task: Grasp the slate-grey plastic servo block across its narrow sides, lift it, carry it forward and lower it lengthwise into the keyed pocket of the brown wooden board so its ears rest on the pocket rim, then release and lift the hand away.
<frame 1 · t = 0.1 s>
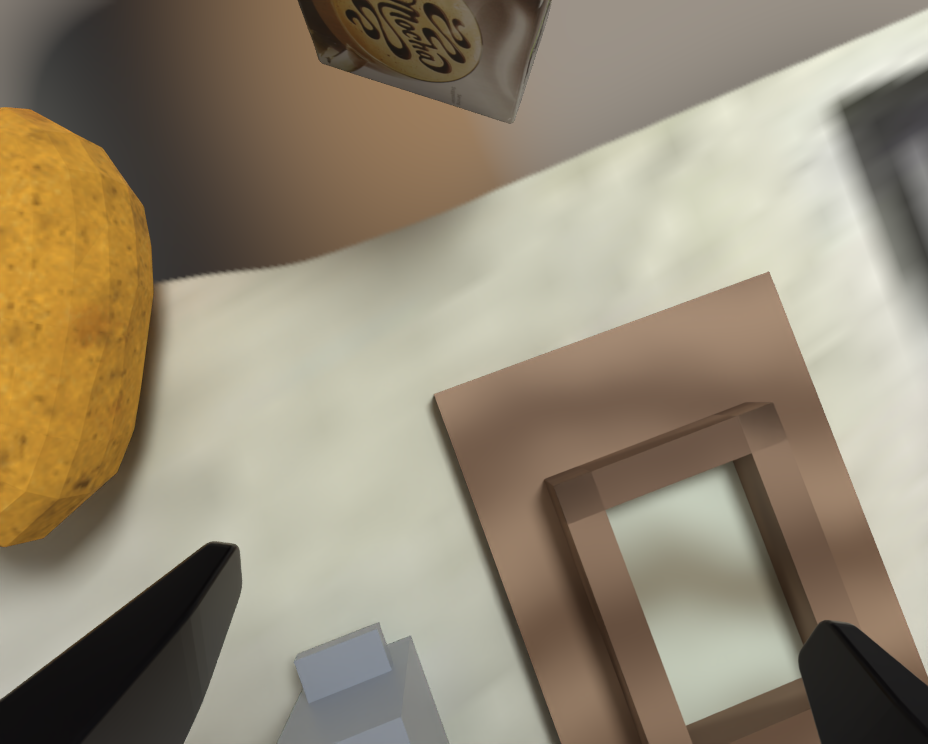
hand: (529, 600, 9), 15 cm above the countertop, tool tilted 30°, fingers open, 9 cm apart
brown wooden board: (689, 577, 23), on the countertop
coffee box: (434, 33, 24), on the countertop
potato: (95, 340, 23), on the countertop
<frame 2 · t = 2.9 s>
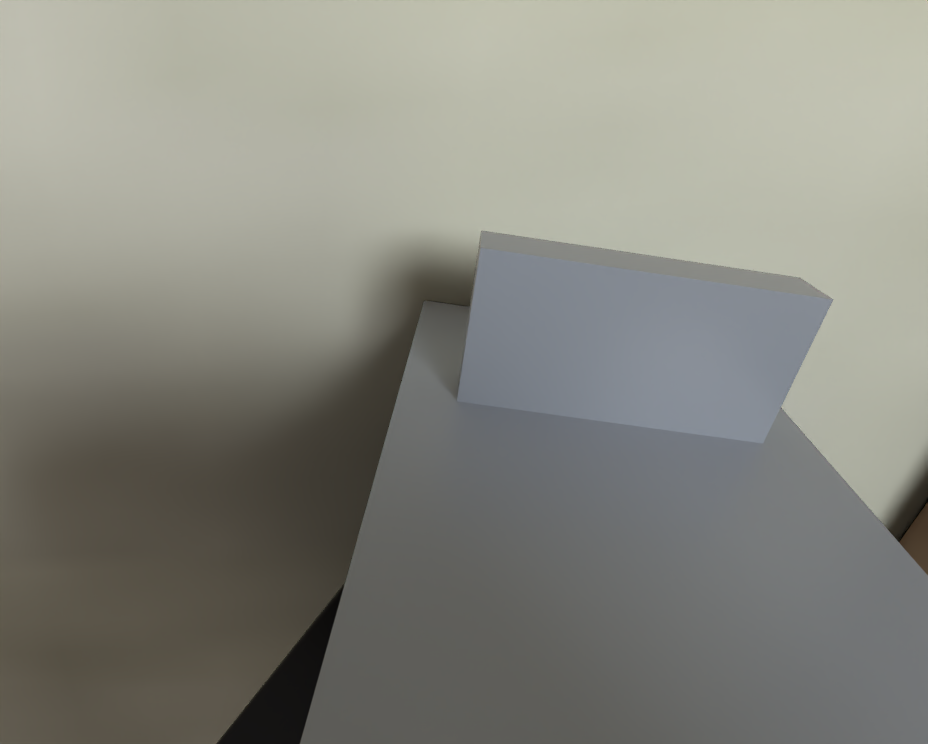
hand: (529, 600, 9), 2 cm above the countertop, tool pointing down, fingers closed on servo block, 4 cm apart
servo block: (523, 526, 10), on the countertop, touching gripper
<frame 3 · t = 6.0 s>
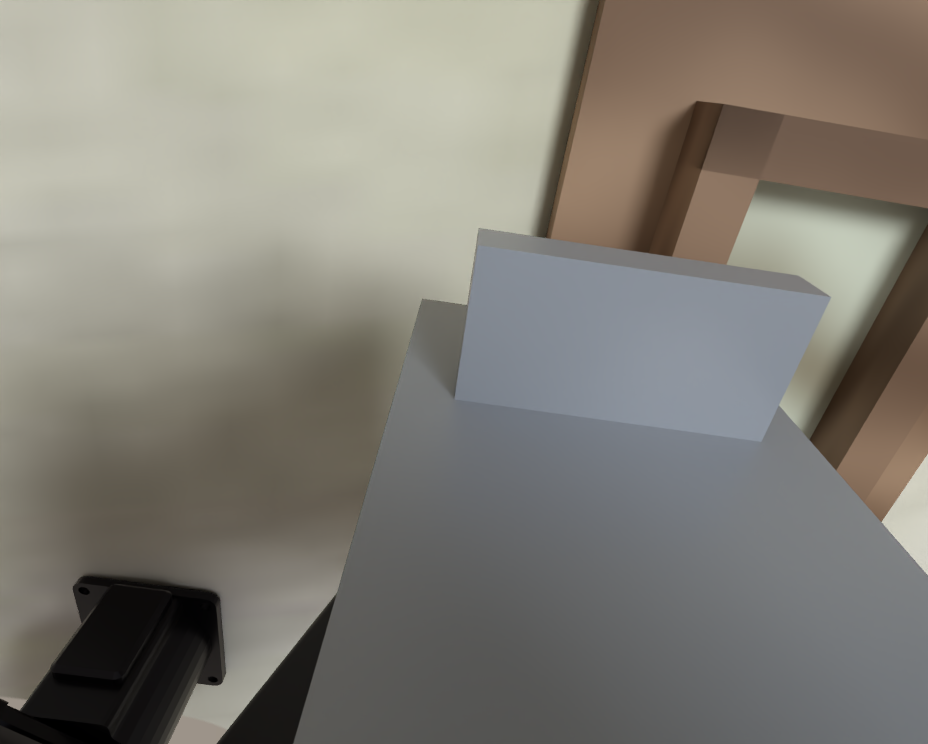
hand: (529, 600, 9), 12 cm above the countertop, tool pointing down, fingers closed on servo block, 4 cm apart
brown wooden board: (750, 324, 19), on the countertop
servo block: (522, 525, 10), point 10 cm above the countertop, touching gripper
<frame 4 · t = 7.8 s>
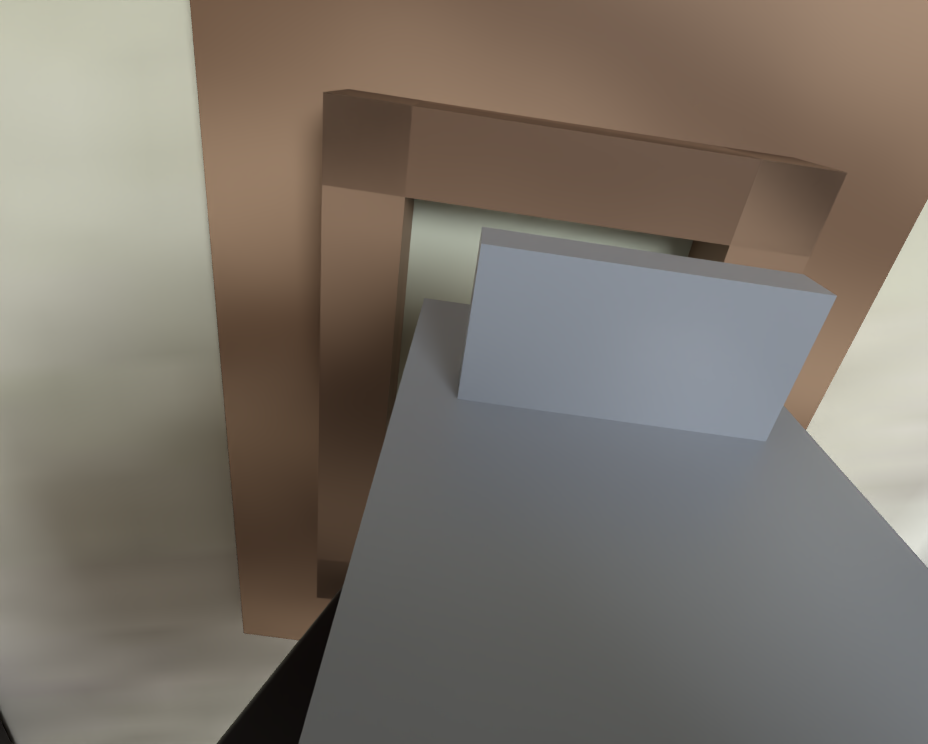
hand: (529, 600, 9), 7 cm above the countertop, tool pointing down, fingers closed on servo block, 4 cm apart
brown wooden board: (515, 372, 15), on the countertop
servo block: (524, 525, 10), point 6 cm above the countertop, touching gripper
when the fingers open (4 cm above the countertop, at t = 9.3 s): servo block drops 1 cm, resting on brown wooden board.
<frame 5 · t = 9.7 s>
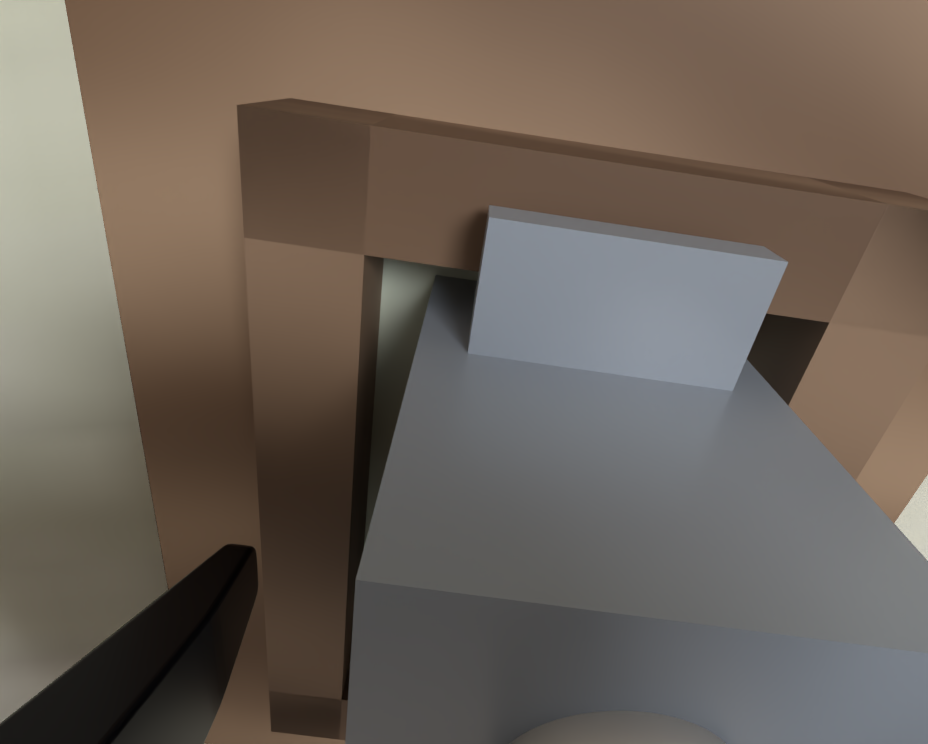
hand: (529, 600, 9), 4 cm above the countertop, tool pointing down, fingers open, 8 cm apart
brown wooden board: (519, 451, 12), on the countertop
servo block: (524, 487, 11), point 1 cm above the countertop, touching brown wooden board
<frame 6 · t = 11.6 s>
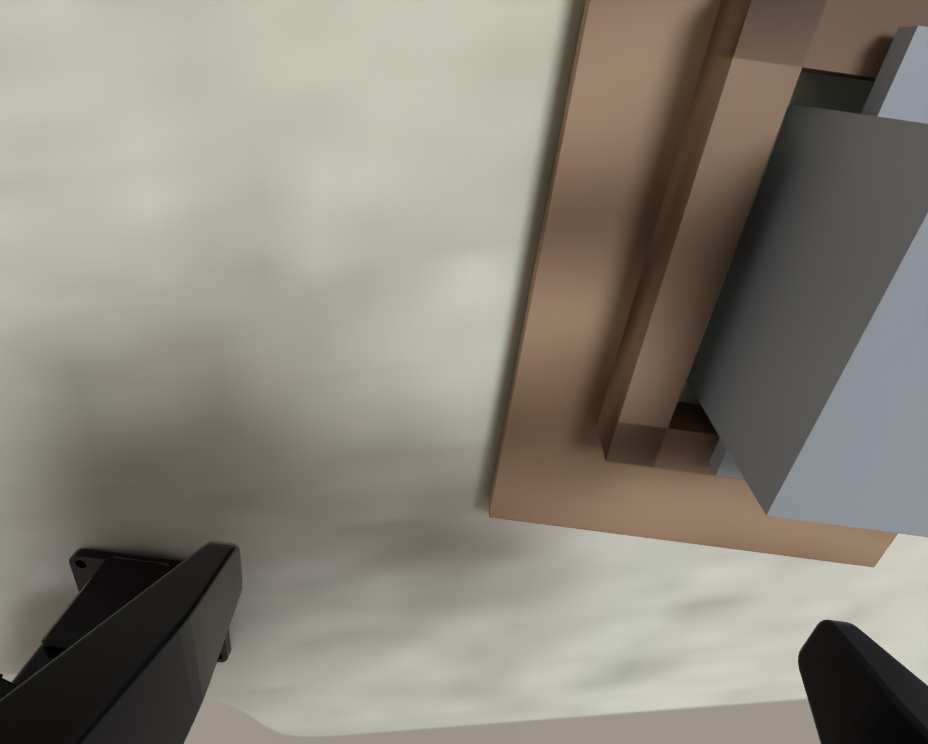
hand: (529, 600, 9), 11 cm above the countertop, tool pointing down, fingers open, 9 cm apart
brown wooden board: (787, 258, 17), on the countertop
servo block: (808, 270, 16), point 1 cm above the countertop, touching brown wooden board
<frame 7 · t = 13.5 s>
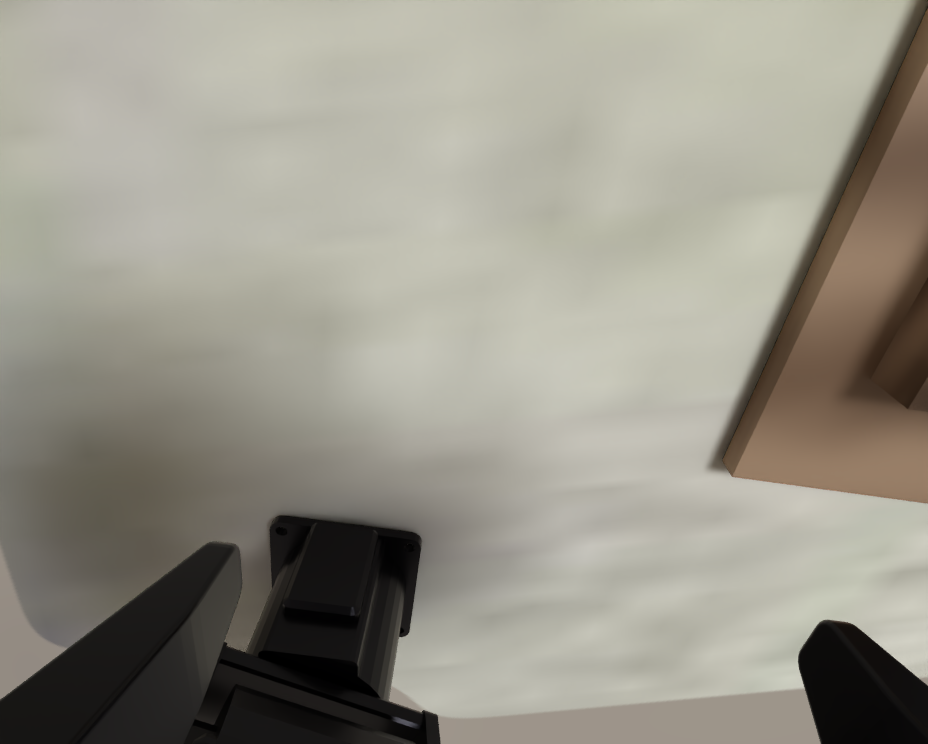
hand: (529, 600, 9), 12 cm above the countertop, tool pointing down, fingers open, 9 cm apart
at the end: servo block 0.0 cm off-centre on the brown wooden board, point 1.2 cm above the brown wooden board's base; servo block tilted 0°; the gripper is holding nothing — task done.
